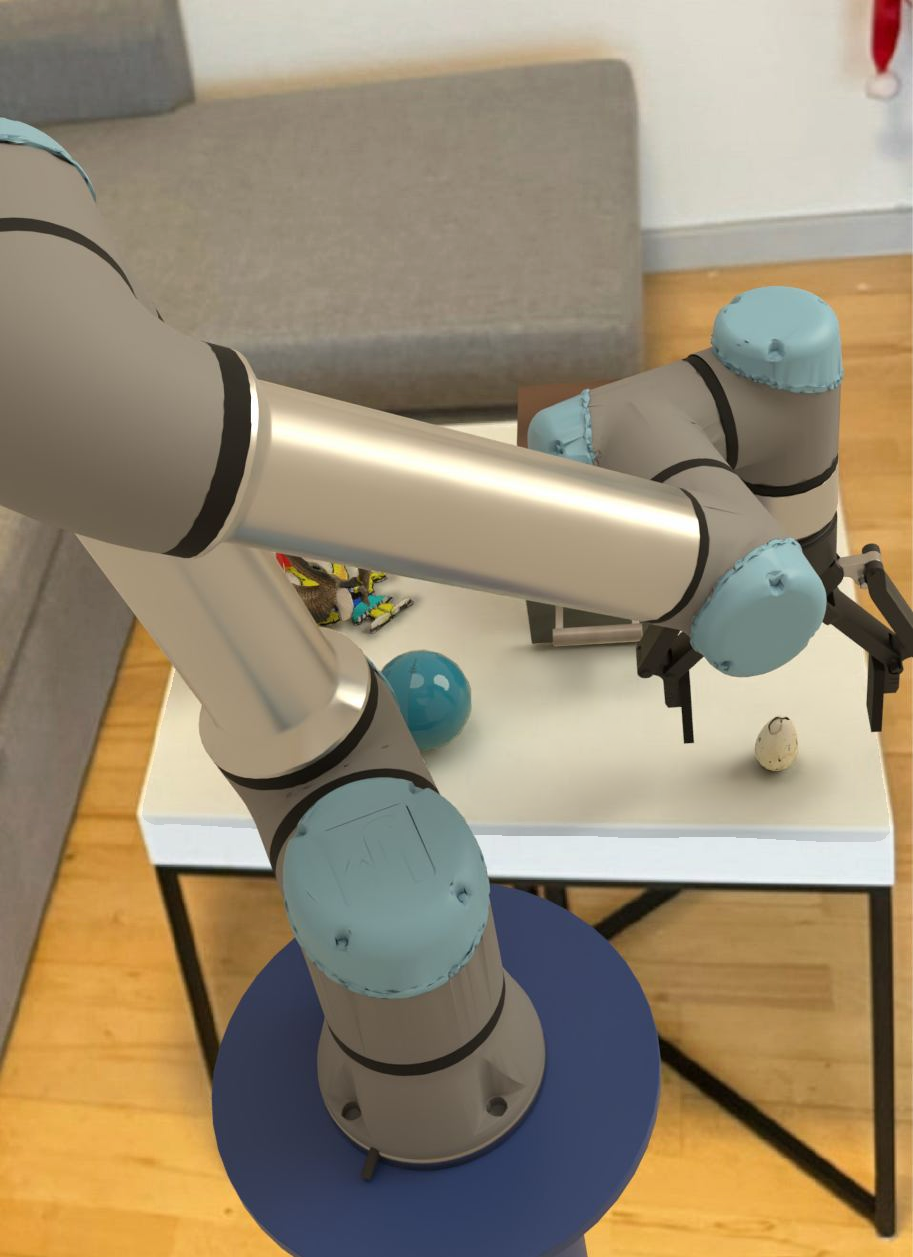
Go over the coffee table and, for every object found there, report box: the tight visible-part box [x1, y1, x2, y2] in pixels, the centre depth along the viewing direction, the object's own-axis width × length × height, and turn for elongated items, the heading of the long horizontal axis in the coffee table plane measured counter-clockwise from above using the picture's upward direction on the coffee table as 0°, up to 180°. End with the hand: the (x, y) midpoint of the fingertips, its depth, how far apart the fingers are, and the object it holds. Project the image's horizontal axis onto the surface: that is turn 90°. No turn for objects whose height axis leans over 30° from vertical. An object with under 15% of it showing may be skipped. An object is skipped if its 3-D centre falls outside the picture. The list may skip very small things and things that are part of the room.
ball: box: [380, 649, 472, 752], centre depth 130 cm, size 8×8×8 cm
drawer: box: [525, 600, 650, 647], centre depth 137 cm, size 18×11×8 cm, turn 178°
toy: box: [284, 558, 414, 634], centre depth 146 cm, size 10×1×15 cm
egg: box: [754, 714, 799, 772], centre depth 125 cm, size 3×3×5 cm
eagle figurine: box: [285, 554, 372, 624], centre depth 141 cm, size 8×7×9 cm
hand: (780, 724), depth 123 cm, fingers open, 13 cm apart
